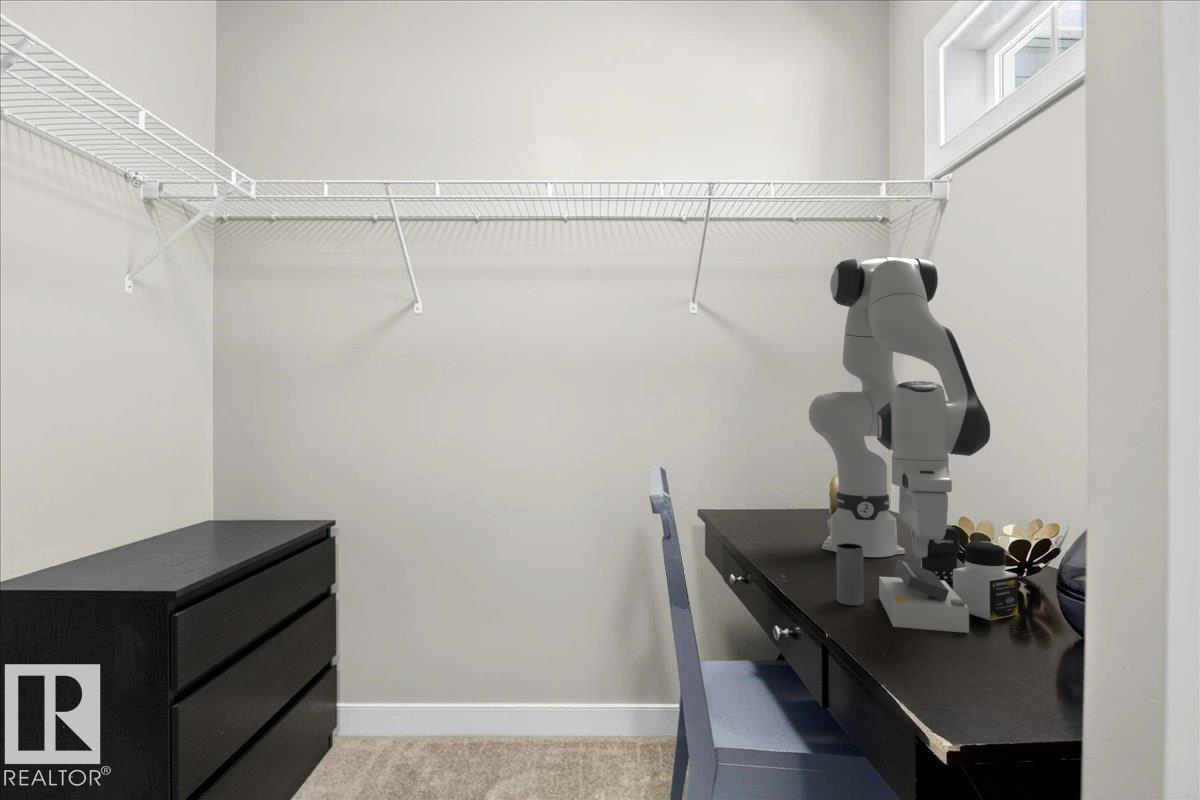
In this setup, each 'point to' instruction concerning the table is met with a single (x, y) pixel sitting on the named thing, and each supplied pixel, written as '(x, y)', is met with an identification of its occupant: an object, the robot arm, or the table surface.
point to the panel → (922, 607)
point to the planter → (850, 574)
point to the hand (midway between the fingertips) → (920, 555)
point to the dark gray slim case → (921, 580)
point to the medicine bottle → (986, 582)
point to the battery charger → (943, 555)
